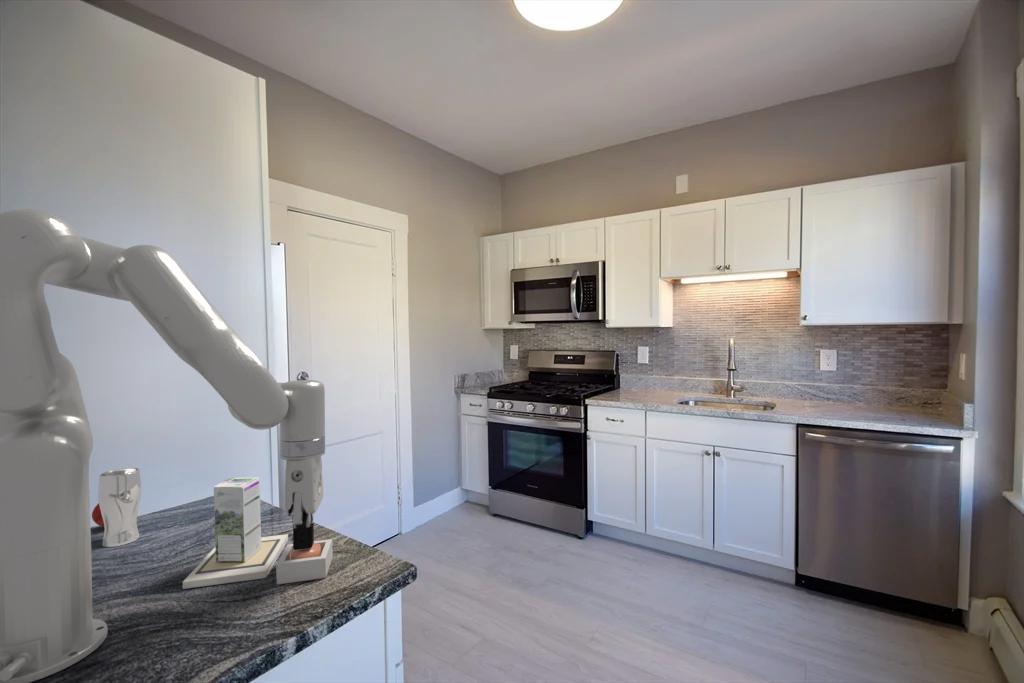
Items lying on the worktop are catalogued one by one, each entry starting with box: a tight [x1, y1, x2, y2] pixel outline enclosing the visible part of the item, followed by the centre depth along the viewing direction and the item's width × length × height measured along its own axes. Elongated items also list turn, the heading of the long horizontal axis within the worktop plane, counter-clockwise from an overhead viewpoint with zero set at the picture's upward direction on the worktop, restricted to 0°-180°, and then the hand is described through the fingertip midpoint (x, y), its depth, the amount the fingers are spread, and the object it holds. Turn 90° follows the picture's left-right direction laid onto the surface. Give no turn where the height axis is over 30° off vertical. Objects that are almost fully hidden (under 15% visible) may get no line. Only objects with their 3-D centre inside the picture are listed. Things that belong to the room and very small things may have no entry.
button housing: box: [275, 538, 334, 585], centre depth 82 cm, size 8×8×4 cm
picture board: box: [182, 534, 289, 590], centre depth 86 cm, size 16×13×1 cm
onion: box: [91, 502, 104, 528], centre depth 104 cm, size 6×6×8 cm
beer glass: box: [97, 467, 142, 548], centre depth 97 cm, size 7×7×15 cm
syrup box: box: [213, 477, 262, 562], centre depth 86 cm, size 6×6×14 cm
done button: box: [291, 543, 321, 560], centre depth 82 cm, size 5×5×2 cm
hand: (303, 546), depth 82 cm, fingers closed
